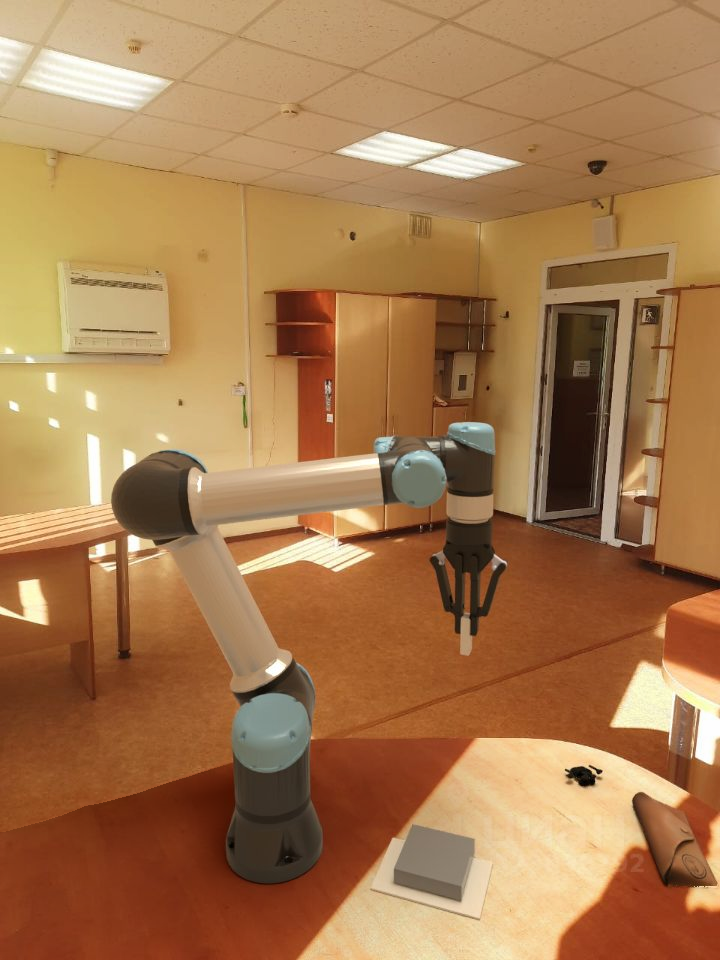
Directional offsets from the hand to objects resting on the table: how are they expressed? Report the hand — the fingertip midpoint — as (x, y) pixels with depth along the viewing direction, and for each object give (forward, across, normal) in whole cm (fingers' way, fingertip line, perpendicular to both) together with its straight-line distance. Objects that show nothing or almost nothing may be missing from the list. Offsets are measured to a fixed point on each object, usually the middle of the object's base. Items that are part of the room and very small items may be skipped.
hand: (466, 651), depth 117 cm
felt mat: (+26, 0, +22) cm, 34 cm away
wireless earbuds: (+27, -20, -10) cm, 35 cm away
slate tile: (+25, 0, +15) cm, 29 cm away
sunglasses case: (+27, -34, +2) cm, 44 cm away
